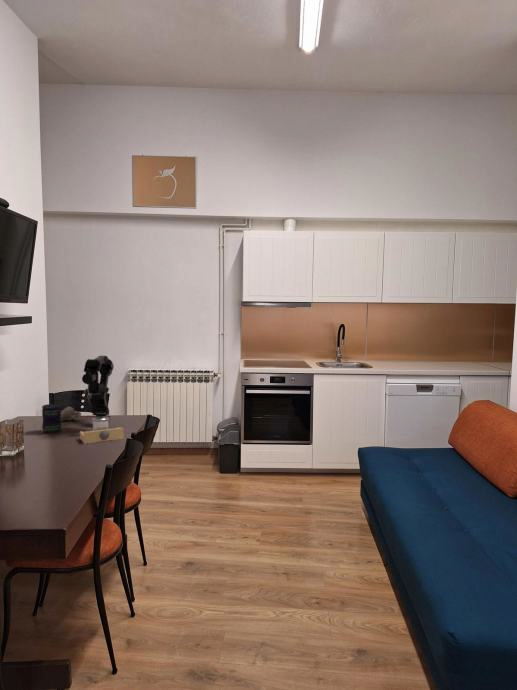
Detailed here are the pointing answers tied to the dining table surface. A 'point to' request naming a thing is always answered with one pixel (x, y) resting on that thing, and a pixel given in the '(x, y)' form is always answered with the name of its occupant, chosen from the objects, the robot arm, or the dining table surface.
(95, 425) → the door knob
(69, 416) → the pipe
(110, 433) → the tan wooden u-frame
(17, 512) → the dining table surface
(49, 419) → the storage jar
